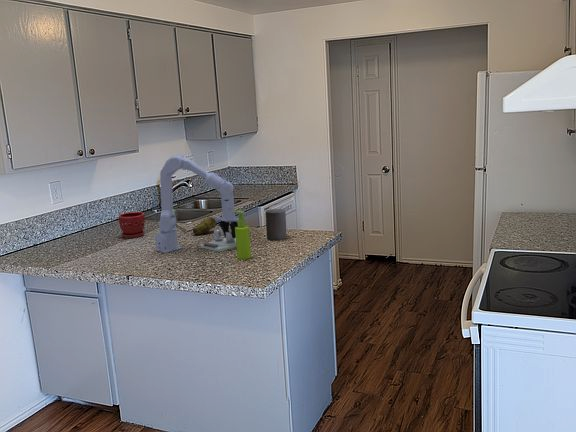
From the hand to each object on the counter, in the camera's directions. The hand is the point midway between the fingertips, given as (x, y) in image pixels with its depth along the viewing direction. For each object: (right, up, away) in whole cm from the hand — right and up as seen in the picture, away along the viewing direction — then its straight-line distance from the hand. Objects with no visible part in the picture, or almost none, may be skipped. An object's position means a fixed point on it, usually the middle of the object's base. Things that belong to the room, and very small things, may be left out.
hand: (230, 237), depth 256 cm
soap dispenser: (+8, -8, -20) cm, 23 cm away
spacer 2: (0, -2, 0) cm, 2 cm away
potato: (-17, +1, +33) cm, 37 cm away
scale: (-4, -4, +3) cm, 6 cm away
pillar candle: (+21, -1, +11) cm, 24 cm away
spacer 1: (-6, -2, +6) cm, 9 cm away
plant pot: (-55, -1, +36) cm, 66 cm away
